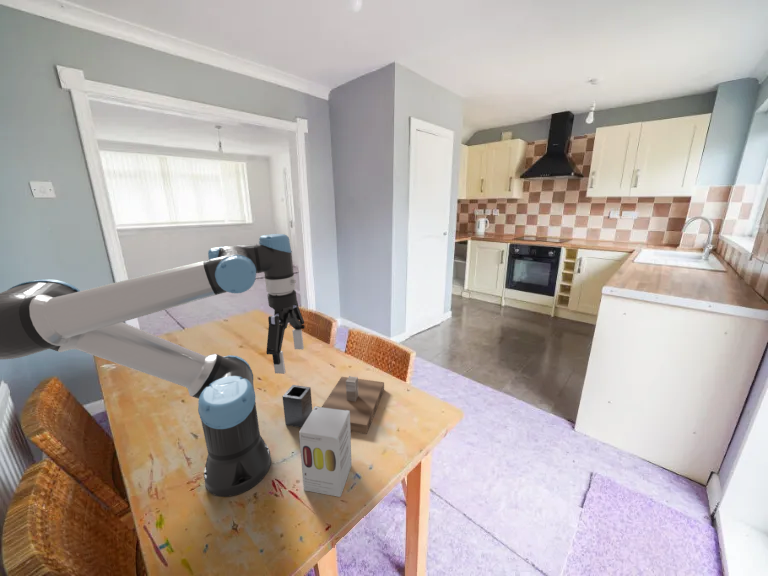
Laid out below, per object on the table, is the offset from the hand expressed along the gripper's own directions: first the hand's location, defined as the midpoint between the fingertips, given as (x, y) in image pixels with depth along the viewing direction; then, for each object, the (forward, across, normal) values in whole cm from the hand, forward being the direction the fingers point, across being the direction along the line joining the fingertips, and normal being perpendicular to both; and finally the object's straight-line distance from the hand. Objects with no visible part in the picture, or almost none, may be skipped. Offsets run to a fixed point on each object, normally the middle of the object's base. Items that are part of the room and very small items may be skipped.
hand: (290, 360), depth 90 cm
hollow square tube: (+20, -1, -1) cm, 20 cm away
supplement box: (+20, -20, -16) cm, 33 cm away
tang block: (+20, +7, -16) cm, 27 cm away
